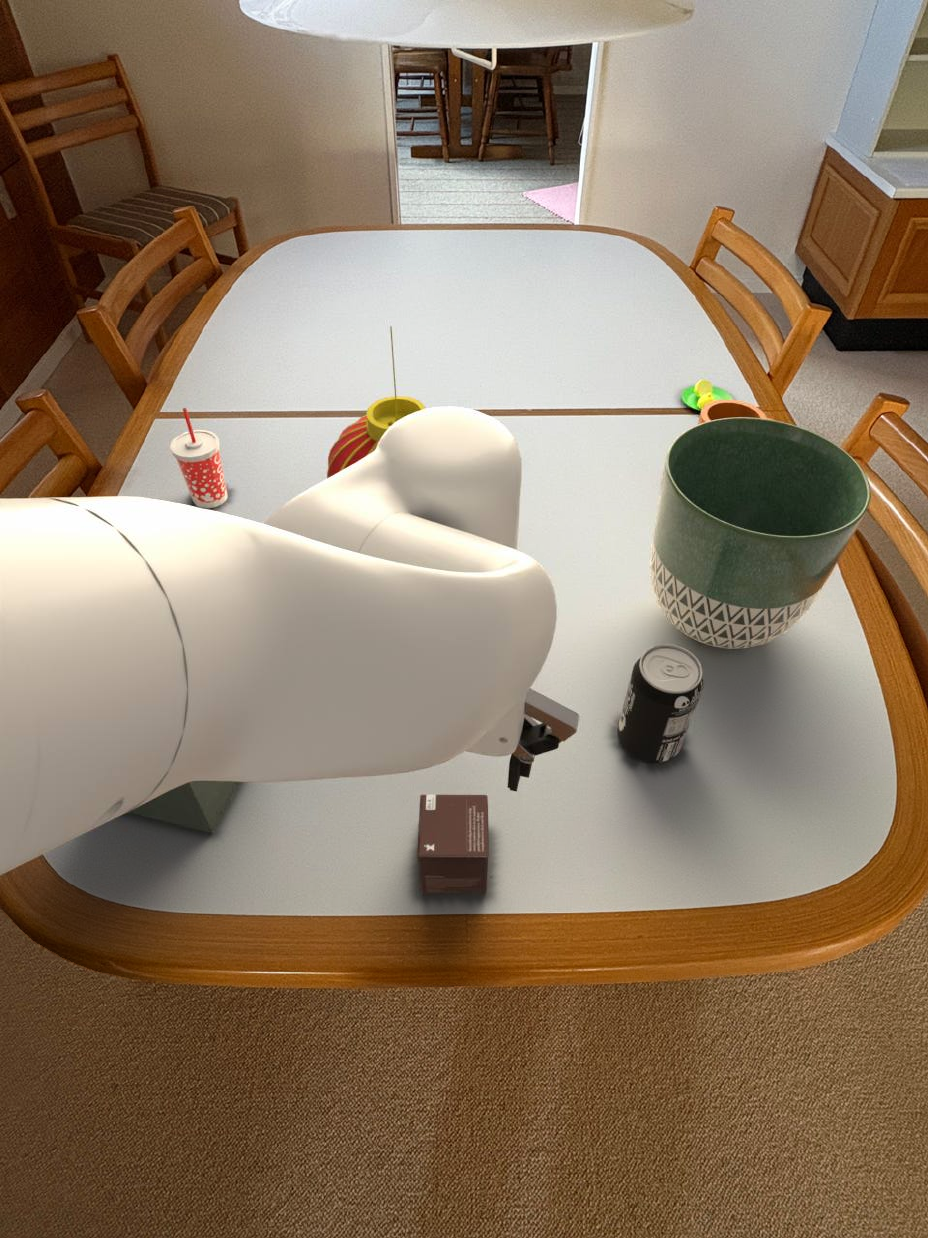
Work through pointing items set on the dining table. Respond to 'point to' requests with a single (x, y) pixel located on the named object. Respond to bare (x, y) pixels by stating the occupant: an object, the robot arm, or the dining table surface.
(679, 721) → the beverage can
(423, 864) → the box
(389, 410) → the lantern
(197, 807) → the green open box
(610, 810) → the dining table surface
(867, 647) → the dining table surface
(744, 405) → the mug
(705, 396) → the green dish
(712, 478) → the planter
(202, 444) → the beverage cup
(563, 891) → the dining table surface
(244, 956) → the dining table surface
